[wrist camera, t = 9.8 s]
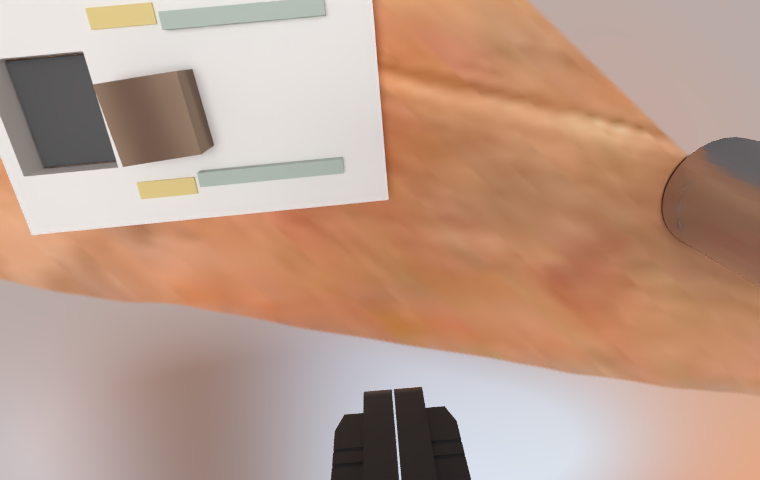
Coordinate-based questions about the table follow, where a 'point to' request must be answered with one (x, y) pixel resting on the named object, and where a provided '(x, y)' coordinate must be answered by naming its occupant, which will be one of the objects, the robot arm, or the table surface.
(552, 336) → the table surface
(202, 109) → the walnut block
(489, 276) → the table surface
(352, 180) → the board
